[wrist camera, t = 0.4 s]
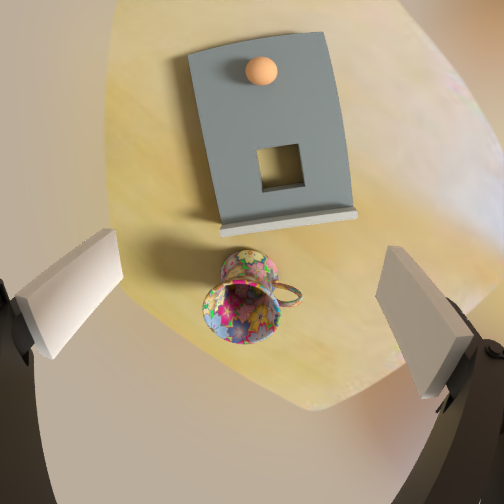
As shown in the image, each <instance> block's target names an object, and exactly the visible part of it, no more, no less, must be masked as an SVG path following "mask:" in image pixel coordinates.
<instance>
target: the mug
mask: <svg viewBox="0 0 504 504" xmlns="http://www.w3.org/2000/svg"><path fill="white" fill-rule="evenodd" d="M220 276H221V282H222V283H220V284H218V285H216V286H215V287H214V288H212V289H211V290H210V291H209V293H208V294H207V295H206V297H205V300H204V303H203V316H204V319H205V321H206V323H207V325H208V327H209V328H210V329H211V330H212V331H213V332H214V333H215V334H216V335H218V336H219V337H221V338H222V339H224V340H227V341H229V342H233V343H237V344H253V343H257V342H260V341H263V340H265V339H266V338H268V337H269V336H271V335H272V334H273V333H274V331H275V330H276V329H277V327H278V325H279V322H280V318H281V311H280V306H282V307H293V306H296V305H298V304H300V303H301V302H302V294H301V292H300V291H299V290H297V289H296V288H294V287H292V286H290V285H286V284H282V283H278V272H277V269H276V266H275V265H274V263H273V262H272V260H271V259H270V258H269V257H267V256H266V255H264V254H262V253H260V252H257V251H253V250H243V251H238V252H236V253H234V254H232V255H231V256H229V257H228V258H227V259H226V260H225V262H224V263H223V265H222V268H221V273H220ZM275 288H282V289H286V290H289V291H291V292H293V293H295V294H296V295H298V296H299V298H298V299H296V300H294V301H290V302H284V301H280V300H278V299H276V298H275V296H274V295H273V294H272V292H273V291H274V289H275Z"/></svg>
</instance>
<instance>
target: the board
mask: <svg viewBox="0 0 504 504" xmlns="http://www.w3.org/2000/svg"><path fill="white" fill-rule="evenodd" d="M256 57H267V58H269V59H271V60H272V61H273V62H274V63H275V64H276V66H277V76H276V78H275V80H274V81H273V82H271V83H270V84H268V85H263V86H260V85H256V84H253V83H252V82H250V81H249V80H248V78H247V76H246V72H245V70H246V66H247V64H248V62H249V61H250V60H252V59H254V58H256ZM188 61H189V66H190V72H191V77H192V82H193V87H194V93H195V98H196V103H197V108H198V113H199V118H200V123H201V128H202V133H203V138H204V143H205V148H206V152H207V157H208V162H209V167H210V171H211V176H212V181H213V185H214V190H215V195H216V199H217V204H218V208H219V213H220V217H221V222H222V226H221V228H220V229H219V231H220V236H221V237H228V236H234V235H241V234H248V233H255V232H262V231H269V230H276V229H283V228H290V227H297V226H305V225H312V224H320V223H327V222H335V221H342V220H350V219H358V215H357V210H356V209H355V208H354V207H353V198H352V187H351V178H350V169H349V161H348V153H347V146H346V139H345V132H344V126H343V120H342V114H341V108H340V103H339V97H338V92H337V87H336V82H335V78H334V73H333V69H332V64H331V60H330V56H329V52H328V48H327V44H326V40H325V36H324V32H311V33H299V34H289V35H280V36H273V37H266V38H260V39H254V40H248V41H243V42H238V43H233V44H228V45H224V46H220V47H215V48H211V49H207V50H204V51H200V52H196V53H193V54H189V55H188ZM291 144H297V145H298V151H299V157H300V164H301V170H302V177H303V183H298V184H290V185H283V186H277V187H270V188H264V189H263V184H262V179H261V173H260V168H259V162H258V157H257V152H256V150H258V149H264V148H271V147H277V146H284V145H291Z"/></svg>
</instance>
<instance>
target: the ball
mask: <svg viewBox="0 0 504 504" xmlns="http://www.w3.org/2000/svg"><path fill="white" fill-rule="evenodd" d="M245 72H246V76H247V78H248V80H249V81H250V82H252V83H253V84H256V85H260V86H263V85H268V84H270V83H271V82H273V81H274V80H275V78H276V76H277V66H276V64H275V63H274V62H273V61H272V60H271V59H269V58H267V57H256V58H254V59H252V60H250V61H249V62H248V64H247V66H246V70H245Z"/></svg>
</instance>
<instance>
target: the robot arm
mask: <svg viewBox="0 0 504 504" xmlns="http://www.w3.org/2000/svg"><path fill="white" fill-rule="evenodd" d="M122 279H123V274H122V268H121V262H120V256H119V250H118V244H117V237H116V230H115V229H102V230H101V231H99V232H98V233H96V234H95V235H93V236H92V237H90V238H89V239H87V240H86V241H84V242H83V243H82V244H80V245H79V246H78V247H76V248H75V249H73V250H72V251H70V252H69V253H68V254H66V255H65V256H64V257H62V258H61V259H60V260H58V261H57V262H56V263H54V264H53V265H52V266H50V267H49V268H48V269H46V270H45V271H44V272H42V273H41V274H40V275H39V276H37V277H36V278H35V279H34V280H32V281H31V282H30V283H29V284H27V285H26V286H25V287H24V288H23V289H21V290H20V291H19V292H18V293H17V294H15V297H14V298H13V299H12V300H9V297H8V294H7V292H6V289H5V286H4V283H3V281H2V280H1V279H0V504H57V502H56V500H55V497H54V493H53V490H52V487H51V483H50V479H49V475H48V471H47V467H46V463H45V459H44V453H43V448H42V443H41V437H40V431H39V424H38V417H37V408H36V398H35V384H34V355H33V352H32V350H31V347H32V346H33V344H34V343H35V345H36V347H37V349H38V351H39V353H40V355H42V356H45V357H47V358H50V359H52V360H53V359H54V358H55V357H56V355H57V354H58V353H59V352H60V351H61V349H62V348H63V347H64V345H65V344H66V343H67V342H68V341H69V339H70V338H71V337H72V336H73V335H74V333H75V332H76V331H77V330H78V328H79V327H80V326H81V325H82V324H83V322H84V321H85V320H86V319H87V318H88V317H89V315H90V314H91V313H92V312H93V311H94V310H95V309H96V307H97V306H98V305H99V304H100V303H101V302H102V300H103V299H104V298H105V297H106V296H107V295H108V294H109V293H110V292H111V291H112V289H113V288H114V287H115V286H116V285H117V284H118V283H119V282H120V281H121V280H122ZM375 297H376V299H377V301H378V303H379V305H380V307H381V309H382V311H383V313H384V315H385V317H386V319H387V321H388V323H389V325H390V328H391V330H392V332H393V334H394V336H395V338H396V341H397V343H398V345H399V347H400V350H401V352H402V354H403V357H404V359H405V361H406V364H407V366H408V368H409V371H410V373H411V376H412V378H413V380H414V383H415V386H416V388H417V391H418V393H419V396H420V398H421V399H425V398H431V397H436V396H438V395H439V394H440V393H441V391H442V390H443V388H444V386H445V385H447V388H448V390H449V394H448V395H447V397H446V398H445V399H444V401H443V402H442V403H441V405H440V406H439V408H438V409H437V410H436V413H438V412H439V411H440V413H439V415H438V417H437V420H436V422H435V425H434V427H433V429H432V431H431V434H430V436H429V438H428V440H427V442H426V444H425V446H424V449H423V450H422V452H421V454H420V456H419V458H418V460H417V462H416V464H415V466H414V468H413V469H412V471H411V473H410V475H409V476H408V478H407V480H406V482H405V483H404V485H403V486H402V488H401V490H400V491H399V493H398V494H397V496H396V497H395V499H394V500H393V502H392V503H391V504H479V502H480V499H481V502H480V504H504V348H503V347H502V346H501V345H500V344H499V343H497V342H495V341H493V340H490V339H484V340H483V339H482V338H481V336H480V335H479V333H478V332H477V331H476V329H475V328H474V327H473V325H472V324H471V323H470V321H469V320H467V317H466V316H465V315H464V314H462V311H461V310H460V308H459V307H458V306H457V305H456V304H455V303H454V302H453V301H451V300H450V299H449V298H447V297H445V296H444V295H443V294H442V293H441V291H440V290H439V289H438V288H437V286H436V285H435V284H434V283H433V282H432V280H431V279H430V278H429V277H428V276H427V275H426V273H425V272H424V271H423V270H422V269H421V268H420V267H419V265H418V264H417V263H416V262H415V261H414V260H413V259H412V257H411V256H410V255H409V254H408V253H407V252H406V251H405V250H404V249H403V248H402V247H398V246H388V247H387V251H386V256H385V260H384V265H383V269H382V273H381V277H380V281H379V285H378V288H377V292H376V296H375Z"/></svg>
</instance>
